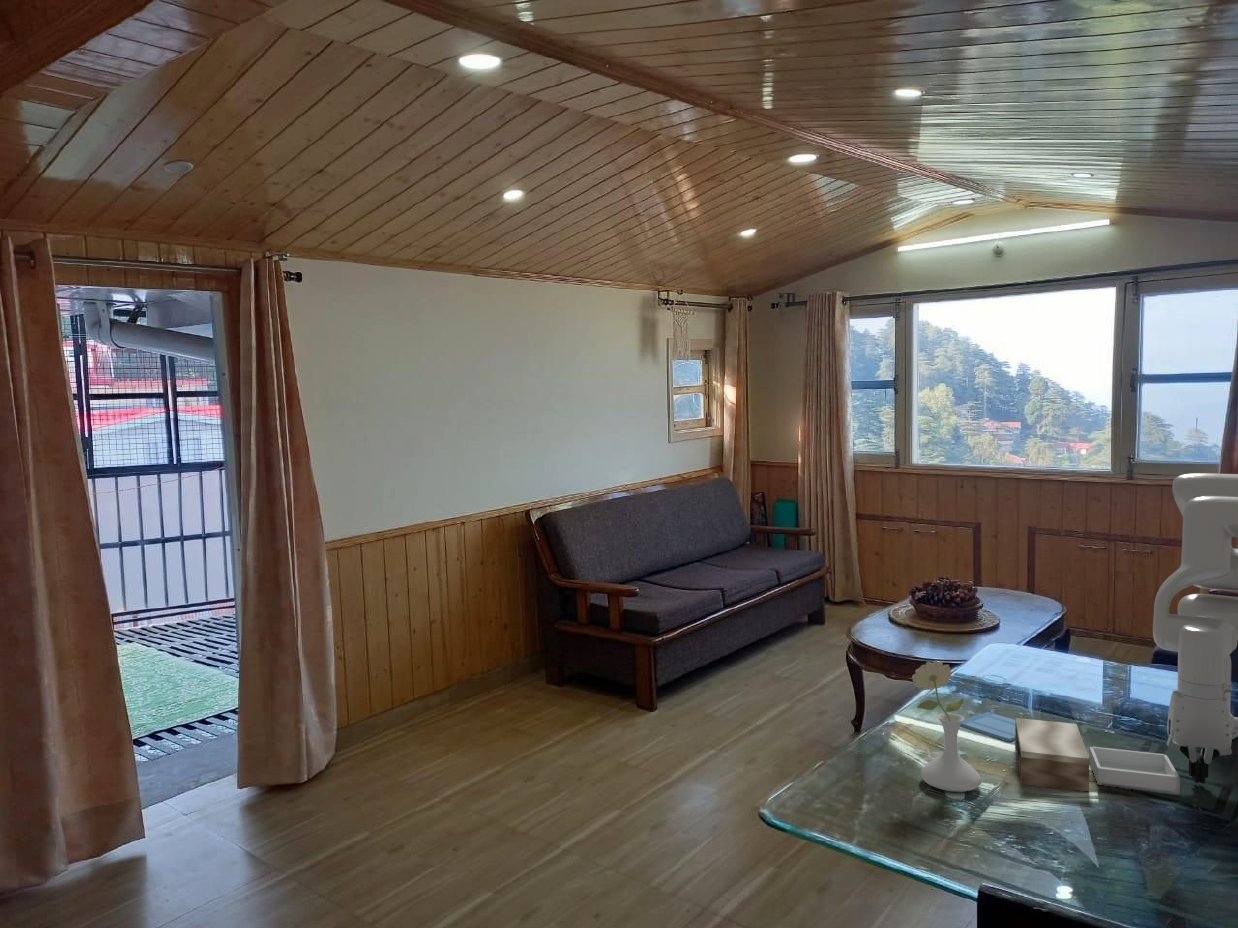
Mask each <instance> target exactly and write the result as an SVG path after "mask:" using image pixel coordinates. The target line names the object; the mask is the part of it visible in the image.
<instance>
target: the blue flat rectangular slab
mask: <svg viewBox="0 0 1238 928" xmlns="http://www.w3.org/2000/svg"><path fill="white" fill-rule="evenodd" d="M962 726H964V727H963V728H965V727H967V728H966V729H968V728H969V729H968V730H971V729H972V731H974V730H975V731H974V732H977V731H978V732H977V733H980V732H981V734H983V735H987V736H990V737H993V738H995V737H997V738H996V739H998V738H1000V739H999V740H1002V739H1004V740H1003V741H1005V740H1007V741H1006V742H1008V741H1012V740H1014V741H1015V719H1013V718H1010V717H1007V716H1003V715H1001V714H1000V715H999V714H997V713H993V712H990V711H987V712H983V713H980V714H978V715H974V716H972V717H969V718H966V719H965V718H964V721H963V722H962V723H961V725H960V727H962ZM1012 742H1013V741H1012Z"/></svg>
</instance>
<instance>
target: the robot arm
mask: <svg viewBox="0 0 1238 928" xmlns="http://www.w3.org/2000/svg"><path fill="white" fill-rule="evenodd" d="M1171 486H1172V494H1173V498H1174V502H1175V503H1176V506H1177V508H1178V509H1179V512H1180V514H1181V516H1182V517H1183V518H1182V541H1181V558H1180V560H1181V561H1180V566H1179V567H1178V568H1177V569H1176V570H1175V571H1174V572H1173V573H1171V574H1170V575H1169V576H1168V577H1167V578H1166V579H1165V580H1164V581H1163V582H1162V584H1161V585H1160V587H1159V589H1158V591H1157V593H1156V595H1155V599H1154V605H1153V621H1152V637H1153V638H1152V639H1153V641H1154V643H1155V644H1156V646H1157V647H1158V648H1160V649H1162V650H1164V651H1165V650H1166V651H1171V652H1177V690H1172V693H1171V696H1170V699H1169V700H1170V701H1169V706H1168V713H1167V725H1166V733H1167V736H1168V738H1167V742H1166V746H1167V747H1168V748H1169V749H1171V750H1174V751H1177V752H1181V753H1182V754H1183V755H1184V756H1185V757H1186V758H1187V759H1188V775H1189V777H1191V779H1192V780H1193V782H1194V783H1197V784H1199V783H1200V784H1206V779H1208V778H1209V767H1210V766H1209V765H1210V764H1211V763H1212V761H1213V760H1215V759H1216V758H1217V757H1219V756H1227V755H1232V753H1233V750H1232V740H1235V739H1236V738H1238V717H1236V716H1234V715H1232V713H1231V693H1233V686H1232V685H1231V684H1232V659H1231V654H1232V653H1233V651H1235V650H1237V649H1236V648H1237V646H1238V596H1230V595H1222V594H1221V595H1220V594H1210V593H1192V594H1188V595H1187V594H1186V595H1184V596H1183V597H1181V599H1180V600H1179V602H1178V605H1177V614H1175V613H1170V607H1171V603H1172V600H1173V598H1174V597H1175V596H1176V595H1177V594H1178V593H1179V592H1181V591H1182V590H1184V589H1186V588H1189V587H1192V586H1193V587H1197V588H1201V589H1206V590H1218V591H1227V592H1238V548H1234V547H1233V546H1232V538H1238V473H1213V472H1201V473H1200V472H1197V473H1184V474H1180V475H1178V476H1176V477H1175V478H1174V479H1173V482H1172V485H1171ZM1196 748H1199V749H1201V751H1200V755H1199V757H1197V751H1196Z"/></svg>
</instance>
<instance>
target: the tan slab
mask: <svg viewBox="0 0 1238 928" xmlns="http://www.w3.org/2000/svg"><path fill="white" fill-rule="evenodd" d="M1014 720H1015V740H1014V744H1015V745H1014V748H1015V749H1016V750H1015V752H1016V753H1015V755H1017V756H1016V760H1017V762H1018V773H1019V777H1020V784H1021V785H1028V786H1034V787H1041V788H1042V787H1043V788H1050V787H1051V789H1058V788H1061V789H1060V790H1066V789H1071V790H1070V791H1074V790H1081V791H1080V792H1082V791H1088V792H1087V793H1090V764H1089V752H1088V751H1087V749H1086V748H1087V747H1086V746H1085V743H1084V740H1083V738H1082V737H1083V736H1082V735H1081V733H1080V729H1079V726H1078V725H1077V723H1072V722H1060V721H1051V720H1049V721H1048V720H1043V719H1042V720H1039V719H1032V718H1020V717H1015V719H1014Z"/></svg>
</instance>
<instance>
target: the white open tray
mask: <svg viewBox="0 0 1238 928" xmlns="http://www.w3.org/2000/svg"><path fill="white" fill-rule="evenodd" d="M1088 747H1089V749H1088V750H1089V751H1088V756H1089V767H1090V768H1092V769H1091V772H1092V771H1093V772H1092V774H1093V773H1094V775H1093V777H1094V776H1095V777H1094V779H1096V780H1095V782H1096V781H1097V783H1096V785H1097V784H1099V785H1104V786H1103V787H1106V786H1111V787H1110V788H1115V787H1119V788H1118V789H1123V788H1124V789H1125V790H1131V789H1133V791H1140V790H1141V791H1142V792H1148V791H1149V792H1150V793H1158V794H1165V795H1166V794H1167V795H1174V796H1180V795H1181V791H1180V790H1181V777H1180V775H1179V773H1178V772H1177V770H1176V769H1175V767H1174V765H1173V763H1172V762H1171V760H1170V758H1169V756H1168V755H1167V754H1165V753H1158V752H1157V753H1156V752H1155V753H1154V752H1147V751H1136V750H1129V749H1128V750H1127V749H1120V748H1109V747H1099V746H1091V745H1090V746H1088ZM1149 792H1148V793H1149Z"/></svg>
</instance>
